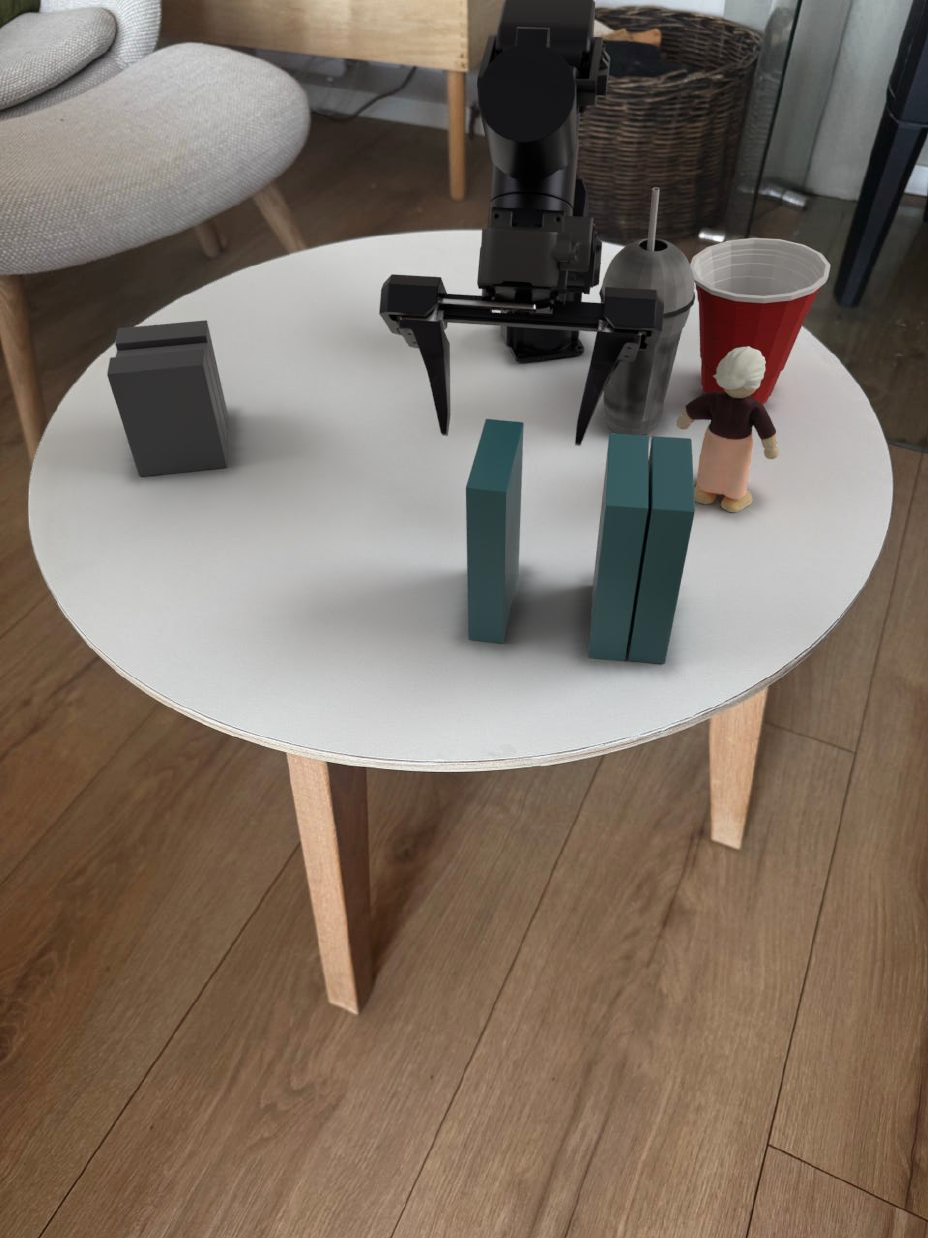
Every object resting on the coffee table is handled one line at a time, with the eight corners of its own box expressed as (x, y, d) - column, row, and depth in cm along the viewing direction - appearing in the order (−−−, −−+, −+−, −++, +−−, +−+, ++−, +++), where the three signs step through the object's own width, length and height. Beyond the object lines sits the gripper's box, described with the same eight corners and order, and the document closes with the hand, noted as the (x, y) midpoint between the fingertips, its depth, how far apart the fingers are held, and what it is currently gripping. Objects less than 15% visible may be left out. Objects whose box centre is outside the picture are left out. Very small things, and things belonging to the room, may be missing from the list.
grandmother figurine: (768, 490, 77) (805, 344, 68) (761, 520, 75) (799, 373, 66) (670, 471, 79) (693, 327, 70) (660, 500, 77) (684, 355, 67)
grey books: (228, 414, 86) (205, 313, 79) (227, 467, 80) (203, 364, 73) (145, 422, 85) (115, 322, 78) (139, 477, 80) (106, 374, 73)
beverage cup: (685, 407, 85) (725, 170, 71) (660, 454, 81) (697, 211, 66) (604, 389, 87) (628, 155, 73) (575, 433, 83) (594, 193, 68)
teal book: (485, 569, 72) (485, 418, 62) (518, 573, 71) (523, 421, 62) (468, 639, 67) (465, 487, 57) (503, 644, 66) (506, 491, 57)
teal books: (592, 584, 70) (609, 432, 61) (664, 590, 70) (691, 437, 60) (588, 657, 65) (605, 505, 56) (664, 664, 65) (695, 511, 56)
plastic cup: (696, 347, 92) (718, 220, 83) (812, 378, 88) (847, 248, 79) (650, 405, 85) (669, 274, 77) (773, 442, 82) (807, 308, 73)
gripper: (374, 151, 60) (352, 409, 61) (684, 165, 58) (660, 431, 59) (402, 219, 71) (384, 436, 72) (664, 233, 70) (644, 456, 70)
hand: (510, 439), depth 68 cm, fingers open, 9 cm apart
